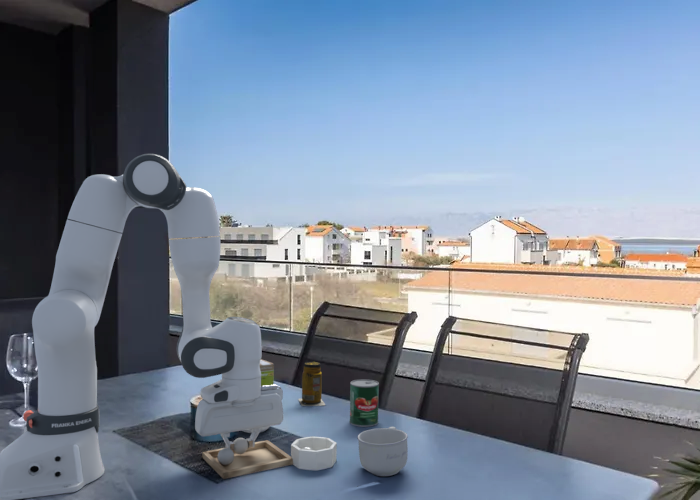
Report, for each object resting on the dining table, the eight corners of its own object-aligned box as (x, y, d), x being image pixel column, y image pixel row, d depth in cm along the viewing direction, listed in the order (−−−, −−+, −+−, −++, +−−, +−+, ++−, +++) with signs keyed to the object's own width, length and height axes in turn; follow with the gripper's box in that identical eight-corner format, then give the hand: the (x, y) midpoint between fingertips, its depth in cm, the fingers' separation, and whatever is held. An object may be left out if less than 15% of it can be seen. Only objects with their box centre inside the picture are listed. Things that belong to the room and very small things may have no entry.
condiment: (320, 398, 185) (321, 360, 185) (325, 405, 177) (326, 366, 177) (298, 399, 183) (298, 361, 183) (301, 406, 175) (302, 367, 175)
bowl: (304, 475, 123) (305, 454, 123) (285, 461, 131) (285, 441, 131) (342, 467, 128) (343, 446, 128) (321, 453, 136) (322, 434, 136)
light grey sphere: (312, 468, 127) (300, 463, 126) (305, 463, 130) (292, 457, 129) (320, 452, 128) (307, 447, 127) (312, 447, 131) (299, 442, 130)
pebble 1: (220, 469, 125) (220, 452, 125) (215, 463, 128) (215, 447, 128) (236, 466, 126) (236, 449, 126) (230, 460, 130) (230, 444, 129)
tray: (223, 481, 120) (223, 473, 120) (202, 459, 131) (202, 451, 131) (293, 466, 128) (293, 458, 128) (267, 447, 140) (267, 440, 140)
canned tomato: (363, 428, 155) (363, 387, 155) (343, 421, 161) (344, 382, 161) (384, 423, 160) (384, 383, 160) (364, 416, 166) (365, 378, 166)
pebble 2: (235, 457, 130) (235, 441, 130) (229, 452, 133) (229, 437, 133) (250, 454, 132) (250, 439, 132) (244, 450, 135) (244, 434, 135)
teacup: (392, 485, 119) (393, 446, 119) (347, 473, 125) (348, 436, 125) (421, 463, 131) (422, 428, 131) (379, 454, 136) (379, 420, 136)
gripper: (277, 380, 141) (276, 437, 141) (193, 390, 130) (192, 452, 130) (288, 386, 135) (287, 445, 135) (202, 396, 124) (200, 461, 125)
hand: (240, 448), depth 133 cm, fingers closed on pebble 2, 4 cm apart
